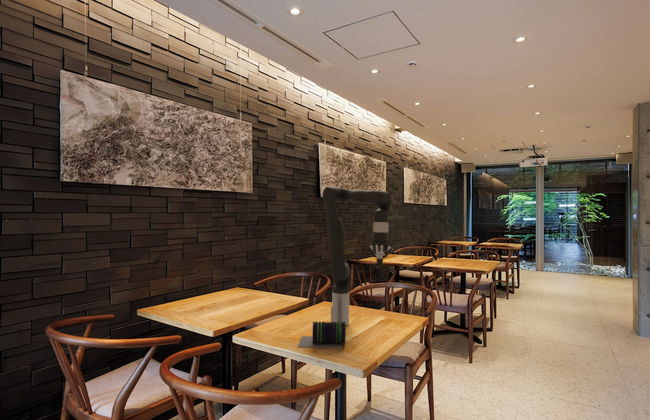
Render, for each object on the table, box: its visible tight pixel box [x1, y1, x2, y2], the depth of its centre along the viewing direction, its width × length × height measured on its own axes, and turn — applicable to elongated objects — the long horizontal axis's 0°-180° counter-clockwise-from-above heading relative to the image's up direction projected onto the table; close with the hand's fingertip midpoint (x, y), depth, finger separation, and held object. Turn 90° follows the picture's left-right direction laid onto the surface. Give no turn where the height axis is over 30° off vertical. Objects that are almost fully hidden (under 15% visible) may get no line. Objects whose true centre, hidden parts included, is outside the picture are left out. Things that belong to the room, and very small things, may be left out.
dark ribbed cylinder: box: [312, 321, 347, 345], centre depth 172 cm, size 10×10×15 cm
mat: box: [297, 335, 343, 350], centre depth 173 cm, size 20×14×1 cm
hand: (379, 266), depth 183 cm, fingers closed
